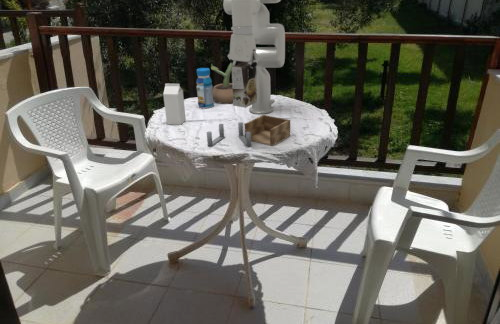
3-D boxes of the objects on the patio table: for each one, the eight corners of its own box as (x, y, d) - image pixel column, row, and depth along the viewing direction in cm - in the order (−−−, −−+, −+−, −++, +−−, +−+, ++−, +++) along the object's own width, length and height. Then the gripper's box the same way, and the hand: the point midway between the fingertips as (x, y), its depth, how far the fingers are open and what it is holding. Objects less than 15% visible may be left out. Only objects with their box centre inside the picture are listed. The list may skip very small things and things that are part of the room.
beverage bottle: (213, 108, 223) (210, 70, 215) (197, 108, 224) (193, 71, 215) (214, 103, 231) (212, 67, 223) (199, 104, 231) (196, 67, 223)
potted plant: (204, 102, 235) (200, 46, 222) (224, 94, 248) (221, 41, 236) (238, 107, 223) (235, 49, 210) (256, 99, 236) (255, 44, 224)
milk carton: (180, 125, 201) (176, 85, 193) (166, 124, 203) (162, 85, 195) (185, 120, 208) (182, 81, 200) (172, 119, 209) (167, 81, 201)
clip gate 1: (220, 136, 186) (219, 123, 183) (225, 137, 185) (224, 124, 182) (206, 146, 176) (205, 132, 173) (211, 147, 175) (210, 133, 172)
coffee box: (246, 108, 169) (244, 67, 162) (232, 105, 172) (230, 66, 165) (258, 102, 176) (257, 62, 169) (245, 100, 179) (243, 61, 172)
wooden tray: (263, 129, 192) (263, 114, 189) (290, 135, 184) (290, 120, 181) (245, 139, 182) (244, 123, 179) (272, 145, 174) (272, 129, 171)
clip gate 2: (243, 135, 186) (242, 122, 184) (252, 146, 174) (251, 132, 172) (237, 135, 186) (237, 122, 183) (246, 147, 174) (246, 133, 171)
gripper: (219, 30, 164) (222, 76, 171) (255, 33, 154) (256, 81, 162) (231, 28, 169) (233, 72, 177) (267, 30, 159) (267, 77, 167)
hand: (244, 76), depth 169 cm, fingers closed on coffee box, 6 cm apart
